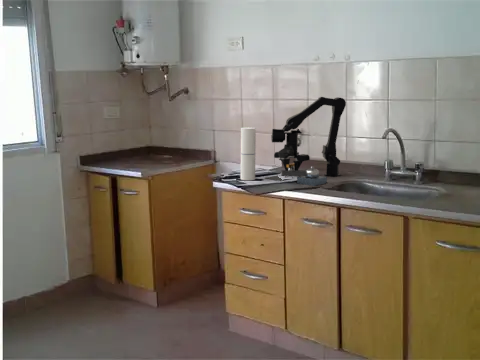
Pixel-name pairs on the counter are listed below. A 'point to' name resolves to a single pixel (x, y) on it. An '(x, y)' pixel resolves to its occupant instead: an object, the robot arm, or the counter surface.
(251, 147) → the cylindrical container
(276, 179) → the rubber pad
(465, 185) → the counter surface
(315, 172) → the chuck collar
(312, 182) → the chuck base
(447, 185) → the counter surface
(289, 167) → the chuck key
